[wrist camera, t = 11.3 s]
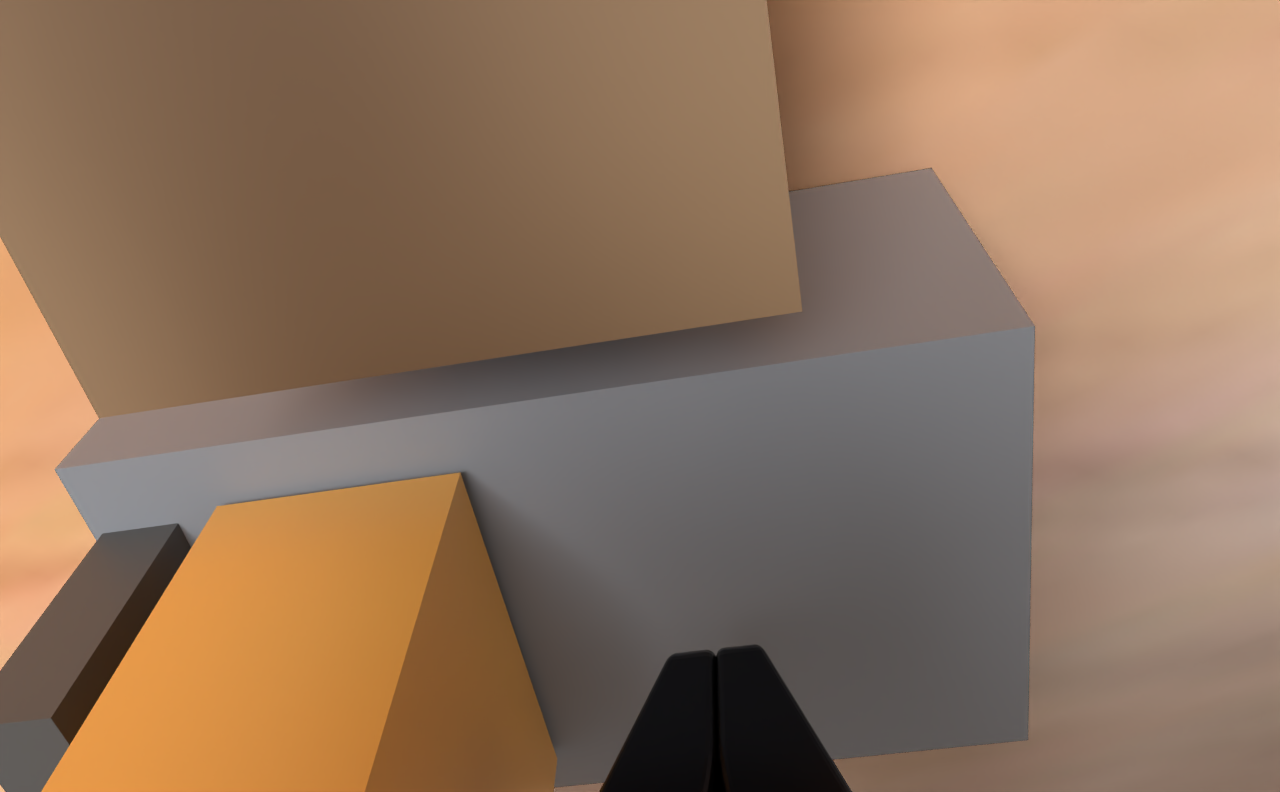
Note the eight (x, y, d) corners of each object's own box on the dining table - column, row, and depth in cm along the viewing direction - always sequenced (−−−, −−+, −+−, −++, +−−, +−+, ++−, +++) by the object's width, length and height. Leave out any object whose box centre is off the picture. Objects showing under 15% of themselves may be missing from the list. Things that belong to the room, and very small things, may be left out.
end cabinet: (931, 167, 12) (1149, 500, 7) (944, 513, 15) (1106, 954, 9) (215, 287, 13) (-113, 657, 8) (348, 589, 16) (177, 1026, 10)
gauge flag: (460, 472, 9) (364, 798, 6) (557, 758, 11) (516, 1107, 8) (217, 506, 10) (15, 832, 7) (354, 779, 12) (245, 1124, 9)
